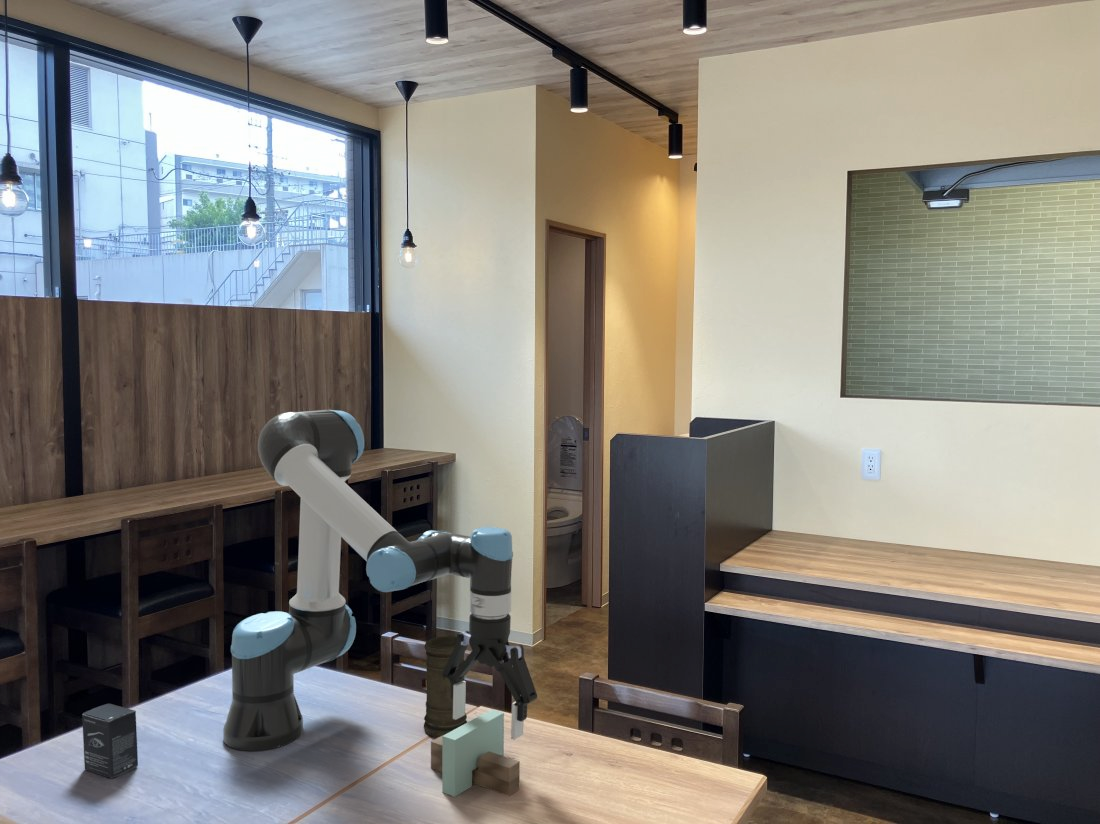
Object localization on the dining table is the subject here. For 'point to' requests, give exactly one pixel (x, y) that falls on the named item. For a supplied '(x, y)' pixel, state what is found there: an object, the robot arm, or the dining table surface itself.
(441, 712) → the container
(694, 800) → the dining table surface
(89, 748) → the box
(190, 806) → the dining table surface
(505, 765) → the slotted rail
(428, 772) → the dining table surface
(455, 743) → the plate
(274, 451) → the robot arm
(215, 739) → the dining table surface
